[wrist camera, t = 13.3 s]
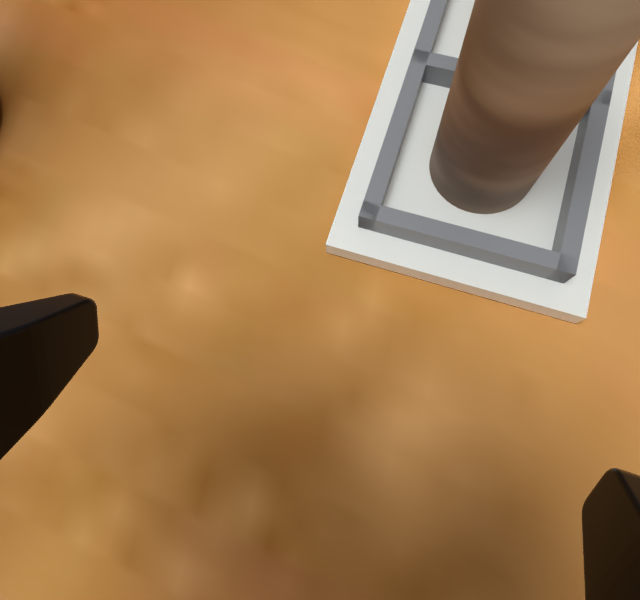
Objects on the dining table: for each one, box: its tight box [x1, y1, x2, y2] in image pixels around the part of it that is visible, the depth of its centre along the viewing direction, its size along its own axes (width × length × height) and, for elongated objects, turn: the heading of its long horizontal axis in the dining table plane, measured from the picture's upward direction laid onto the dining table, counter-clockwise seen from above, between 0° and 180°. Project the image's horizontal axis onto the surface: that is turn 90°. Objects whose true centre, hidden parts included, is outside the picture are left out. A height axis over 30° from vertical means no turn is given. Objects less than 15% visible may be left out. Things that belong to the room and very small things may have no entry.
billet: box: [429, 0, 640, 214], centre depth 16 cm, size 5×5×14 cm
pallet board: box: [326, 0, 638, 324], centre depth 24 cm, size 21×12×2 cm, turn 162°
